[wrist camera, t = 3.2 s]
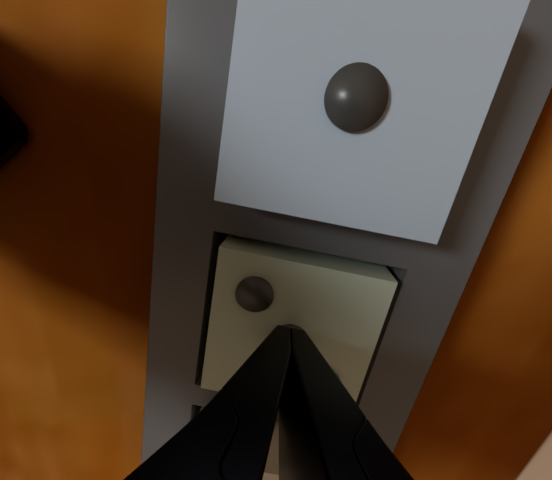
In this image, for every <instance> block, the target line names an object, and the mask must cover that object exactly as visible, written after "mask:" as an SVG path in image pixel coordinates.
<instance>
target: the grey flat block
mask: <svg viewBox="0 0 552 480" xmlns="http://www.w3.org/2000/svg"><path fill="white" fill-rule="evenodd" d="M237 1H238V0H167V13H166V31H165V49H164V67H163V85H162V103H161V121H160V139H159V157H158V174H157V192H156V210H155V228H154V246H153V264H152V282H151V300H150V318H149V336H148V354H147V372H146V390H145V408H144V426H143V444H142V461H141V464H142V463H143V462H144V461H145V460H147V459H148V458H149V457H150V456H151V455H152V454H153V453H155V452H156V451H157V450H158V449H159V448H160V447H161V446H163V445H164V444H165V443H166V442H167V441H168V440H169V439H171V438H172V437H173V436H174V435H175V434H176V433H178V432H179V431H180V430H181V429H182V428H183V427H184V426H185V425H186V424H187V423H188V422H190V421H191V420H192V419H193V418H194V417H195V416H196V415H197V414H198V413H199V412H200V410H201V407H205V406H206V405H207V404H208V403H209V401H210V400H211V399H212V398H213V397H214V396H215V395H216V394H217V393H218V391H214V390H209V389H204V388H201V380H202V373H203V365H204V358H205V350H206V342H207V335H208V327H209V319H210V312H211V304H212V297H213V289H214V281H215V274H216V266H217V259H218V251H219V246H220V245H221V244H222V243H223V241H224V240H225V239H226V236H227V234H231V235H236V236H241V237H246V238H251V239H256V240H261V241H266V242H271V243H276V244H281V245H286V246H291V247H296V248H301V249H306V250H311V251H316V252H321V253H326V254H331V255H336V256H341V257H346V258H351V259H356V260H361V261H366V262H371V263H376V264H381V265H385V266H386V268H387V269H388V270H389V272H390V273H391V274H392V275H393V277H394V278H395V279H396V281H397V282H398V284H397V287H396V290H395V293H394V295H393V298H392V301H391V304H390V307H389V310H388V312H387V315H386V318H385V321H384V324H383V327H382V329H381V332H380V335H379V338H378V341H377V344H376V346H375V349H374V352H373V355H372V358H371V361H370V364H369V366H368V369H367V372H366V375H365V378H364V381H363V383H362V386H361V389H360V392H359V395H358V398H357V400H356V403H357V405H358V406H359V408H360V409H361V410H362V412H363V413H364V415H365V416H366V419H368V420H369V421H370V423H371V424H372V426H373V427H374V429H375V430H376V431H377V433H378V434H379V435H380V437H381V438H382V439H383V441H384V442H385V444H386V445H387V446H388V448H389V449H390V450H391V452H392V453H393V451H394V449H395V446H396V444H397V442H398V440H399V437H400V435H401V433H402V430H403V428H404V426H405V424H406V421H407V419H408V417H409V414H410V412H411V410H412V407H413V405H414V403H415V401H416V398H417V396H418V394H419V391H420V389H421V387H422V384H423V382H424V380H425V378H426V375H427V373H428V371H429V368H430V366H431V364H432V361H433V359H434V357H435V355H436V352H437V350H438V348H439V345H440V343H441V341H442V339H443V336H444V334H445V332H446V329H447V327H448V325H449V322H450V320H451V318H452V316H453V313H454V311H455V309H456V306H457V304H458V302H459V299H460V297H461V295H462V293H463V290H464V288H465V286H466V283H467V281H468V279H469V276H470V274H471V272H472V270H473V267H474V265H475V263H476V260H477V258H478V256H479V254H480V251H481V249H482V247H483V244H484V242H485V240H486V237H487V235H488V233H489V231H490V228H491V226H492V224H493V221H494V219H495V217H496V214H497V212H498V210H499V208H500V205H501V203H502V201H503V198H504V196H505V194H506V191H507V189H508V187H509V185H510V182H511V180H512V178H513V175H514V173H515V171H516V169H517V166H518V164H519V162H520V159H521V157H522V155H523V152H524V150H525V148H526V146H527V143H528V141H529V139H530V136H531V134H532V132H533V129H534V127H535V125H536V123H537V120H538V118H539V116H540V113H541V111H542V109H543V106H544V104H545V102H546V100H547V97H548V95H549V93H550V90H551V88H552V0H530V2H529V5H528V8H527V10H526V13H525V15H524V18H523V21H522V23H521V26H520V29H519V31H518V34H517V36H516V39H515V42H514V44H513V47H512V49H511V52H510V55H509V57H508V60H507V63H506V65H505V68H504V70H503V73H502V76H501V78H500V81H499V84H498V86H497V89H496V91H495V94H494V97H493V99H492V102H491V104H490V107H489V110H488V112H487V115H486V118H485V120H484V123H483V125H482V128H481V131H480V133H479V136H478V139H477V141H476V144H475V146H474V149H473V152H472V154H471V157H470V159H469V162H468V165H467V167H466V170H465V173H464V175H463V178H462V180H461V183H460V186H459V188H458V191H457V194H456V196H455V199H454V201H453V204H452V207H451V209H450V212H449V214H448V217H447V220H446V222H445V225H444V228H443V230H442V233H441V235H440V238H439V241H438V243H437V244H432V243H427V242H422V241H417V240H412V239H407V238H402V237H397V236H391V235H386V234H381V233H376V232H371V231H366V230H361V229H356V228H351V227H346V226H341V225H336V224H331V223H326V222H321V221H316V220H311V219H306V218H301V217H296V216H291V215H286V214H281V213H276V212H271V211H266V210H261V209H256V208H250V207H245V206H240V205H235V204H230V203H225V202H220V201H215V200H214V195H215V186H216V178H217V169H218V161H219V153H220V144H221V136H222V127H223V119H224V111H225V102H226V94H227V85H228V77H229V69H230V60H231V52H232V43H233V35H234V27H235V18H236V10H237ZM276 422H279V410H278V414H277V419H276Z"/></svg>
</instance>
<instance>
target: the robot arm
mask: <svg viewBox="0 0 552 480" xmlns="http://www.w3.org/2000/svg"><path fill="white" fill-rule="evenodd" d="M7 126H8V128H9V130H10V136H9V135H8V133H7ZM28 137H29V133H28V129H27V127H26V125H25V124H24V122H23V121H22V120H21V119H20V117H19V116H18V115H17V114H16V113H15V112H14V110H13V109H12V108H11V107H10V106H9V104H8V103H7V102H6V101H5V100H4V99H3V97H2V96H1V95H0V169H1V168H2V167H3V166H4V165H5V164H6V163H7V162H8V161H9V160H10V159H11V158H12V157H13V156H14V155H15V154H16V153H17V152H18V151H19V150H20V149H21V148H22V147H24V146H25V145H26V143H27V141H28ZM278 410H279V480H414V479H413V478H412V476H411V475H410V474H409V473H408V472H407V470H406V469H405V468H404V467H403V465H402V464H401V463H400V462H399V460H398V459H397V458H396V457H395V455H394V454H393V453H392V452H391V450H390V449H389V448H388V446H387V445H386V444H385V442H384V441H383V439H382V438H381V437H380V435H379V434H378V433H377V431H376V430H375V429H374V427H373V426H372V424H371V423H370V421H369V420H368V419H366V416H365V415H364V413H363V412H362V410H361V409H360V408H359V406H358V405H357V403H356V402H355V401H354V399H353V398H352V396H351V395H350V393H349V392H348V391H347V389H346V388H345V386H344V385H343V384H342V382H341V381H340V379H339V378H338V377H337V375H336V374H335V372H334V371H333V369H332V368H331V367H330V365H329V364H328V362H327V361H326V360H325V358H324V357H323V355H322V354H321V353H320V351H319V350H318V348H317V347H316V346H315V344H314V343H313V341H312V340H311V338H310V337H309V336H308V334H307V333H306V331H304V330H302V329H296V328H291V329H290V327H287V326H282V325H277V326H276V327H275V328H274V329H273V330H272V331H271V332H270V334H269V335H268V336H267V337H266V338H265V339H264V340H263V342H262V343H261V344H260V345H259V346H258V347H257V348H256V350H255V351H254V352H253V353H252V354H251V355H250V356H249V357H248V359H247V360H246V361H245V362H244V363H243V364H242V365H241V367H240V368H239V369H238V370H237V371H236V372H235V373H234V375H233V376H232V377H231V378H230V379H229V380H228V381H227V382H226V384H225V385H224V386H223V387H222V389H221V390H219V391H218V393H217V394H216V395H215V396H214V397H213V398H212V399H211V400H210V401H209V403H208V404H207V405H206V406H205V407H204V408H203V409H202V410H201V411H200V412H199V413H198V414H197V415H196V416H195V417H194V418H193V419H192V420H191V421H190V422H188V423H187V424H186V425H185V426H184V427H183V428H182V429H181V430H180V431H179V432H178V433H176V434H175V435H174V436H173V437H172V438H171V439H169V440H168V441H167V442H166V443H165V444H164V445H163V446H161V447H160V448H159V449H158V450H157V451H156V452H155V453H153V454H152V455H151V456H150V457H149V458H148V459H147V460H145V461H144V462H143V463H142V464H141V465H140V466H139V467H137V468H136V469H135V470H134V471H133V472H132V473H131V474H129V475H128V476H127V477H126V478H125V479H123V480H262V479H263V475H264V471H265V466H266V462H267V458H268V453H269V449H270V445H271V440H272V436H273V432H274V427H275V423H276V419H277V414H278Z"/></svg>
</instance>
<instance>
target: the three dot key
mask: <svg viewBox="0 0 552 480" xmlns="http://www.w3.org/2000/svg"><path fill="white" fill-rule="evenodd" d="M397 284H398V282H397V281H396V279H395V278H394V277H393V275H392V274H391V273H390V272H389V270H388V269H387V268H386V266H385V265H381V264H376V263H371V262H366V261H361V260H356V259H351V258H346V257H341V256H336V255H331V254H326V253H321V252H316V251H311V250H306V249H301V248H296V247H291V246H286V245H281V244H276V243H271V242H266V241H261V240H256V239H251V238H246V237H241V236H236V235H231V234H229V235H228V236H227V238H226V239H225V240H224V241H223V243H222V244H221V245H220V246H219V251H218V259H217V266H216V274H215V281H214V289H213V297H212V304H211V312H210V319H209V327H208V335H207V342H206V350H205V358H204V365H203V373H202V380H201V388H204V389H209V390H214V391H219V390H221V389H222V387H223V386H224V385H225V384H226V382H227V381H228V380H229V379H230V378H231V377H232V376H233V375H234V373H235V372H236V371H237V370H238V369H239V368H240V367H241V365H242V364H243V363H244V362H245V361H246V360H247V359H248V357H249V356H250V355H251V354H252V353H253V352H254V351H255V350H256V348H257V347H258V346H259V345H260V344H261V343H262V342H263V340H264V339H265V338H266V337H267V336H268V335H269V334H270V332H271V331H272V330H273V329H274V328H275V327H276V326H277V325H282V326H287V327H290V329H291V328H296V329H302V330H304V331H306V333H307V334H308V336H309V337H310V338H311V340H312V341H313V343H314V344H315V346H316V347H317V348H318V350H319V351H320V353H321V354H322V355H323V357H324V358H325V360H326V361H327V362H328V364H329V365H330V367H331V368H332V369H333V371H334V372H335V374H336V375H337V377H338V378H339V379H340V381H341V382H342V384H343V385H344V386H345V388H346V389H347V391H348V392H349V393H350V395H351V396H352V398H353V399H354V401H355V402H356V400H357V398H358V395H359V392H360V389H361V386H362V383H363V381H364V378H365V375H366V372H367V369H368V366H369V364H370V361H371V358H372V355H373V352H374V349H375V346H376V344H377V341H378V338H379V335H380V332H381V329H382V327H383V324H384V321H385V318H386V315H387V312H388V310H389V307H390V304H391V301H392V298H393V295H394V293H395V290H396V287H397Z"/></svg>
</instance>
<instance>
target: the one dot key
mask: <svg viewBox="0 0 552 480" xmlns="http://www.w3.org/2000/svg"><path fill="white" fill-rule="evenodd" d="M529 2H530V0H238V1H237V10H236V18H235V27H234V35H233V43H232V52H231V60H230V69H229V77H228V85H227V94H226V102H225V111H224V119H223V127H222V136H221V144H220V153H219V161H218V169H217V178H216V186H215V195H214V200H215V201H220V202H225V203H230V204H235V205H240V206H245V207H250V208H256V209H261V210H266V211H271V212H276V213H281V214H286V215H291V216H296V217H301V218H306V219H311V220H316V221H321V222H326V223H331V224H336V225H341V226H346V227H351V228H356V229H361V230H366V231H371V232H376V233H381V234H386V235H391V236H397V237H402V238H407V239H412V240H417V241H422V242H427V243H432V244H437V243H438V241H439V238H440V235H441V233H442V230H443V228H444V225H445V222H446V220H447V217H448V214H449V212H450V209H451V207H452V204H453V201H454V199H455V196H456V194H457V191H458V188H459V186H460V183H461V180H462V178H463V175H464V173H465V170H466V167H467V165H468V162H469V159H470V157H471V154H472V152H473V149H474V146H475V144H476V141H477V139H478V136H479V133H480V131H481V128H482V125H483V123H484V120H485V118H486V115H487V112H488V110H489V107H490V104H491V102H492V99H493V97H494V94H495V91H496V89H497V86H498V84H499V81H500V78H501V76H502V73H503V70H504V68H505V65H506V63H507V60H508V57H509V55H510V52H511V49H512V47H513V44H514V42H515V39H516V36H517V34H518V31H519V29H520V26H521V23H522V21H523V18H524V15H525V13H526V10H527V8H528V5H529Z"/></svg>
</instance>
